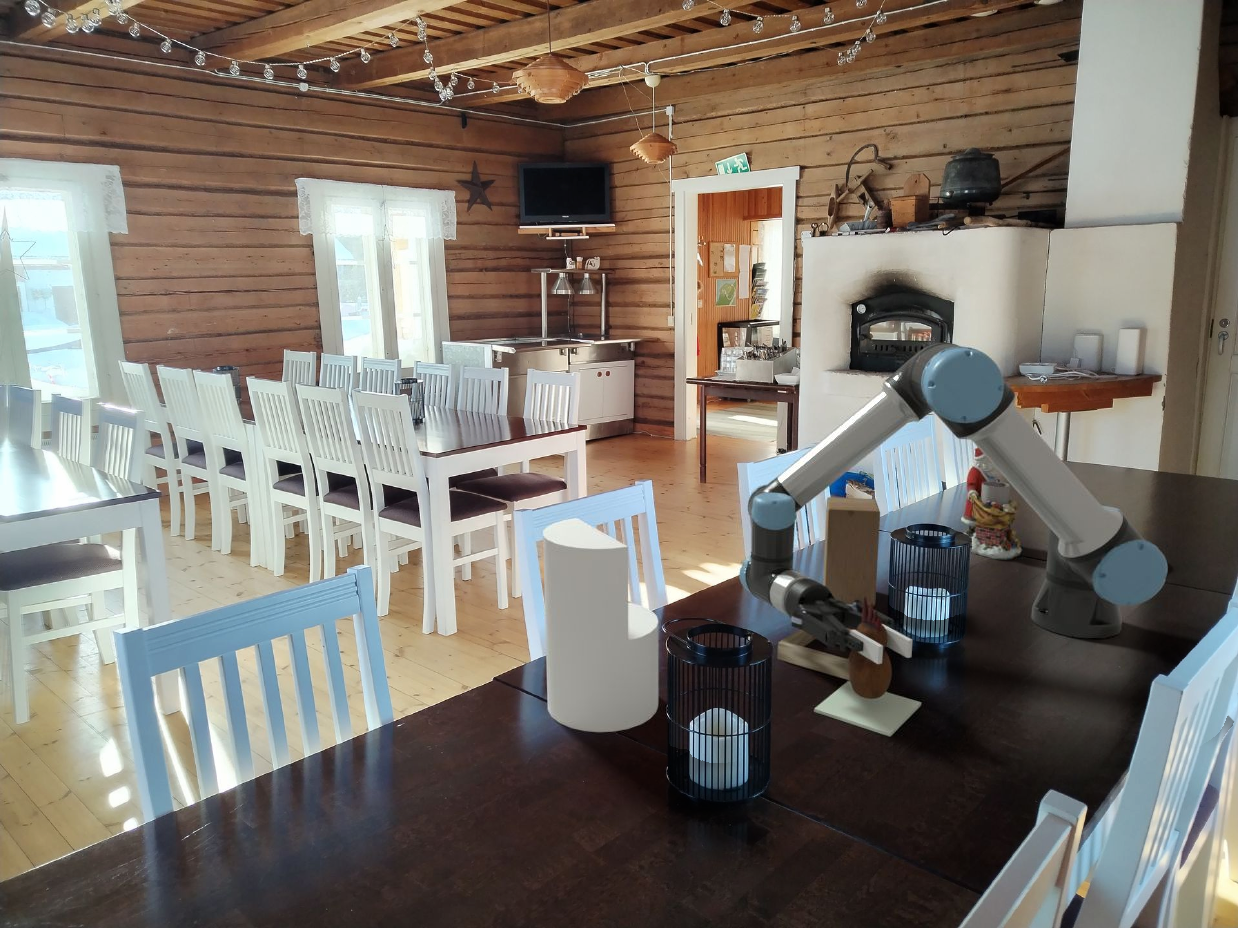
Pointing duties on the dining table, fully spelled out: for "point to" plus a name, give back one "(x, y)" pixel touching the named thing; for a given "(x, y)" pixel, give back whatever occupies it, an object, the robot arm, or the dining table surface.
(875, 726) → the sage mat
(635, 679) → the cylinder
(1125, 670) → the dining table surface
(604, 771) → the dining table surface
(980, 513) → the santa figurine
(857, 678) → the wooden figurine
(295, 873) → the dining table surface
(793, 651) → the pale wood square frame
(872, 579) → the wooden block
